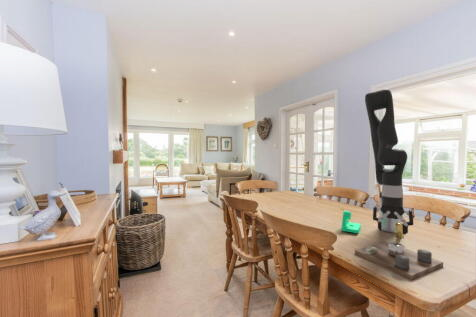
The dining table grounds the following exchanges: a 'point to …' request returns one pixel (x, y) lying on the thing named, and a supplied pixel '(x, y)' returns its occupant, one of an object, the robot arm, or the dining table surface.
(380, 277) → the dining table surface
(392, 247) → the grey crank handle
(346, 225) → the camera mount
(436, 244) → the dining table surface
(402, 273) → the base
